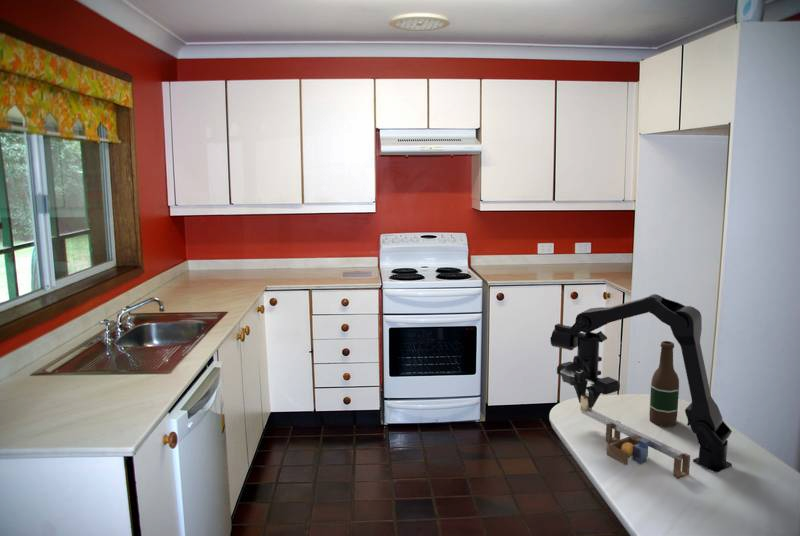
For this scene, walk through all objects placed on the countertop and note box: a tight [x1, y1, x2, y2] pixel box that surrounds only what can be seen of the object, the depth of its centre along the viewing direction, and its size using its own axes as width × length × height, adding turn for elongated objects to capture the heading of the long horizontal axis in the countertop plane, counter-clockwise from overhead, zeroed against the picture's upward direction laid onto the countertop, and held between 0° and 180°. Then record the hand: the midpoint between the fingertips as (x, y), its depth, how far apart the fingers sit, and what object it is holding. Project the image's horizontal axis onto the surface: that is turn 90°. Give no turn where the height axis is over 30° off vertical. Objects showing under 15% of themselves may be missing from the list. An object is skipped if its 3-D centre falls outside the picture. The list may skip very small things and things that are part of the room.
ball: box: [621, 443, 633, 458], centre depth 152 cm, size 4×4×4 cm
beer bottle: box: [649, 340, 680, 428], centre depth 169 cm, size 8×8×24 cm
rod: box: [579, 392, 684, 465], centre depth 156 cm, size 6×32×9 cm, turn 28°
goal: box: [606, 436, 649, 466], centre depth 153 cm, size 8×6×3 cm
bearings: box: [605, 420, 691, 480], centre depth 152 cm, size 4×22×5 cm, turn 29°
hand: (586, 405), depth 169 cm, fingers closed on rod, 3 cm apart
